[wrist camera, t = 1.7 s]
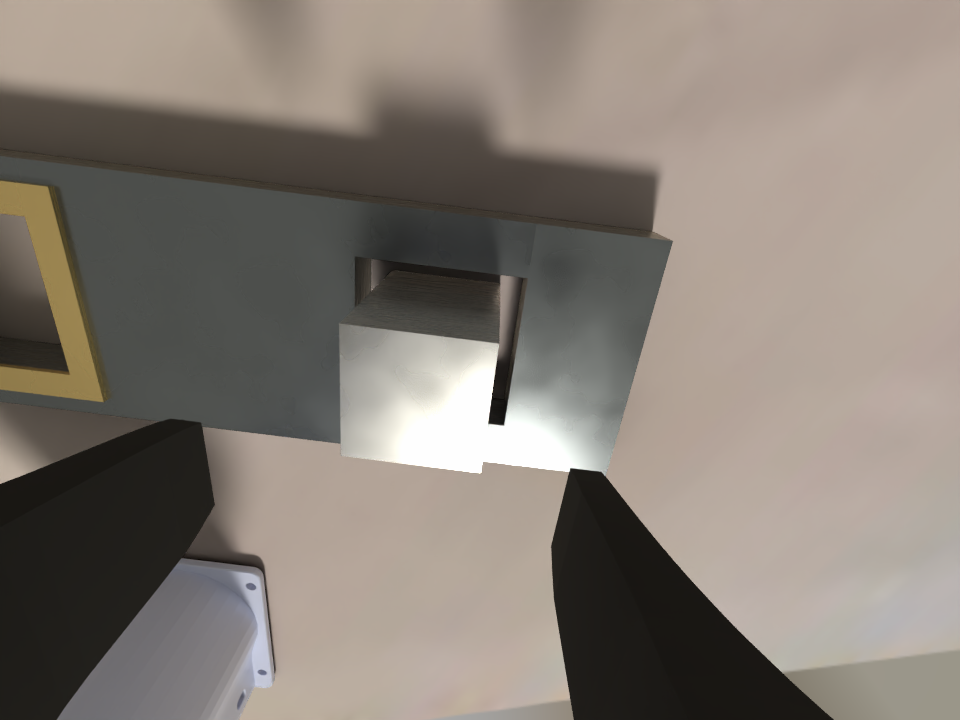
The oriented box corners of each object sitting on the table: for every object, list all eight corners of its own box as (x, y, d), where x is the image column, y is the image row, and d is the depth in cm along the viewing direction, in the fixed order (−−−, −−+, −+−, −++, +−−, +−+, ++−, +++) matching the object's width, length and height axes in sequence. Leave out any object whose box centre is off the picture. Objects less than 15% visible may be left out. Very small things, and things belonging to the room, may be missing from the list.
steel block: (487, 379, 18) (480, 473, 13) (389, 367, 18) (341, 455, 13) (500, 283, 17) (499, 343, 11) (392, 269, 17) (339, 323, 11)
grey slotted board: (595, 446, 19) (606, 479, 17) (-105, 359, 19) (-176, 383, 17) (652, 231, 16) (675, 242, 14) (-213, 122, 15) (-320, 116, 13)
